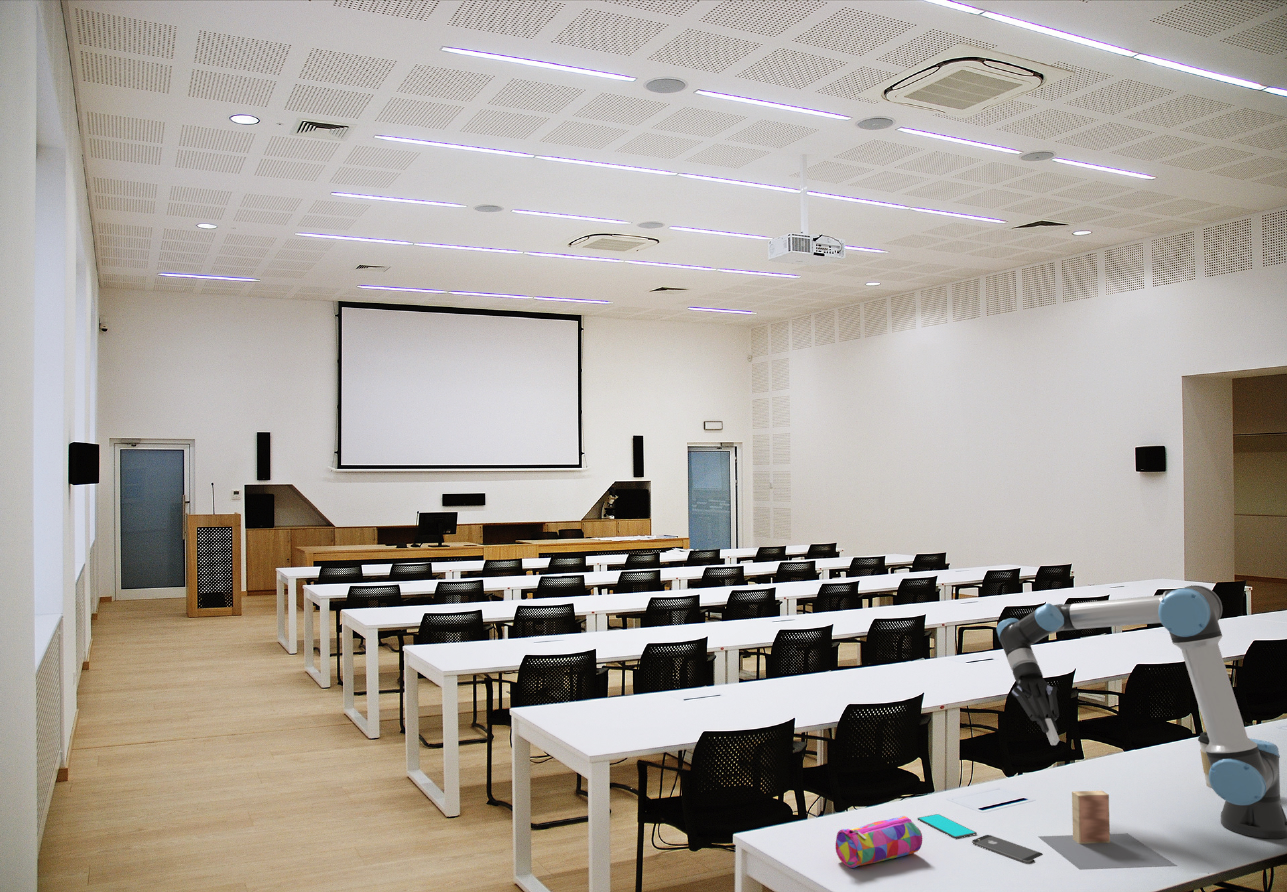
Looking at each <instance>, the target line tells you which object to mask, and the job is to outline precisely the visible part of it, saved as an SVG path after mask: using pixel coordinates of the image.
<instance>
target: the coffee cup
mask: <svg viewBox="0 0 1287 892" xmlns="http://www.w3.org/2000/svg"><path fill="white" fill-rule="evenodd" d="M1197 741H1198V743H1199V746H1200V751H1199V752H1200V756H1201V757H1200V758H1201V765H1202V770H1203V774H1204V779H1205V784H1206V786H1207V787H1208V788H1211V789H1212V787H1211V785H1210V782H1209V770H1210V768H1211V766H1210V763H1209V760H1208V756H1207V753H1206V747H1207V746H1208V744H1209V742H1210V741H1209V738H1208V734H1207V731H1202V732H1201V733H1200V735H1199V736H1198V738H1197Z"/></svg>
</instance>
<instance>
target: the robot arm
mask: <svg viewBox="0 0 1287 892" xmlns="http://www.w3.org/2000/svg"><path fill="white" fill-rule="evenodd" d="M1222 614H1223V605H1222V601H1221V599H1220V597H1219V596H1218V595H1217V594H1216V592H1214V591H1213V590H1212V589H1210V588H1208V587H1206V586H1203V585H1196V584H1195V585H1194V584H1193V585H1188V586H1184V587H1182V588H1178V589H1173V590H1165V591H1164V592H1163V594H1160V595H1159V594H1158V595H1149V596H1148V595H1147V596H1139V597H1129V598H1119V599H1118V598H1116V599H1108V600H1106V599H1105V600H1097V601H1089V602H1087V601H1086V602H1078V603H1071V604H1070V603H1069V604H1067V603H1066V604H1063V603H1059V604H1058V603H1057V604H1052V603H1049V602H1048V603H1044V605H1041V606H1039V607H1037V608H1036V609H1035V610H1034V611H1032V612H1031V613H1029V614H1027V615H1026V616H1024V617H1023V618H1022V619H1018V618H1015V617H1013V618H1012V617H1010V618H1006V619H1003V620H1002V621H1000V622H998V624H997V626H996V633H997V637H998V640H999V643H1000V644H1001V646H1002V649H1003V651H1004V654H1005V657H1006V659H1007V662H1008V664H1009V667H1010V669H1011V672H1012V675H1013V678H1014V680H1015V682H1016V686H1014V687H1013V689H1012V691H1011V695H1012V696H1013V697H1014V698H1015V699H1017V701H1018V703H1020V706H1021V707H1022V708H1023V711H1025V713H1026V714H1027V716H1028V717H1029V719H1030V721H1031V722H1036V724H1037V725H1039V726H1040V728H1041V731H1042V733H1045V734H1046V737H1047V738H1048V742H1049V743H1050V745H1051V746H1057V745H1058V743H1059V742H1060V738H1059V735H1058V733H1057V731H1058V730H1059V729H1058V726H1057V723H1056V721H1057V719H1058V718H1059V716H1060V710H1059V704H1058V697H1057V692H1058V687H1057V686H1055V685H1054V686H1050V685H1048V682H1047V681H1045V679H1044V676H1043V672H1042V670H1041V668H1040V665H1039V664H1038V660H1037V658H1036V656H1035V653H1034V651H1033V648H1032V645H1034V644H1036V643H1037V642H1039V641H1040V640H1043V638H1046V637H1047V636H1049V635H1052V634H1055V633H1059V632H1061V631H1073V630H1081V629H1083V630H1084V629H1096V628H1109V627H1110V628H1111V627H1120V626H1136V625H1137V626H1138V625H1148V624H1151V625H1152V624H1161V625H1162V626H1163V627H1164V629H1166V630H1167V631H1168V632H1169V635H1170V639H1171V643H1172V645H1174V646H1175V647H1178V648H1179V649H1180V650H1181V653H1182V656H1183V660H1184V662H1185V666H1186V670H1187V671H1188V672H1187V673H1188V676H1189V678H1190V683H1191V685H1192V686H1191V687H1192V688H1193V692H1194V695H1195V699H1196V701H1197V705H1198V708H1199V713H1200V714H1201V715H1200V716H1201V717H1202V721H1203V724H1204V727H1205V732H1207V734H1208V738H1209V741H1210V742H1209V744H1208V746H1207V747H1206V753H1207V756H1208V760H1209V763H1210V766H1211V768H1210V770H1209V782H1210V785H1211V787H1212V788H1211V789H1212V790H1213V791H1214V792H1215V794H1216V795H1217V796H1218V797H1220V798H1221V799H1223V800H1224V804H1223V808H1222V811H1221V813H1220V824H1221V826H1223V827H1224V828H1226V829H1228V830H1230V831H1232V832H1235V833H1238V834H1240V835H1243V836H1249V837H1254V838H1259V839H1271V840H1273V839H1275V840H1276V839H1284V838H1287V816H1286V814H1285V811H1284V809H1283V806H1282V804H1281V780H1280V779H1281V778H1280V777H1281V776H1280V758H1281V755H1280V753H1279V747H1278V746H1277V745H1276V744H1275V743H1274V742H1270V741H1267V740H1262V739H1255V738H1249V737H1248V734H1247V731H1246V728H1245V726H1244V721H1243V718H1242V715H1241V712H1240V709H1239V706H1238V703H1237V699H1236V697H1235V694H1234V690H1233V687H1232V684H1231V681H1230V677H1229V674H1228V672H1227V668H1226V667H1227V666H1226V665H1225V661H1224V658H1223V655H1222V651H1221V649H1220V646H1219V642H1220V641H1221V639H1222V637H1223V634H1222V630H1221V627H1220V625H1219V620H1220V619H1221V617H1222ZM1046 693H1047V695H1048V699H1047V697H1046V696H1047V695H1046ZM1048 700H1049V701H1048Z"/></svg>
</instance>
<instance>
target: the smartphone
mask: <svg viewBox="0 0 1287 892" xmlns="http://www.w3.org/2000/svg"><path fill="white" fill-rule="evenodd" d="M917 820H918V821H919V820H920V821H919V822H921V823H923V824H925V825H927V824H928V825H927V826H929V827H932V828H933V829H935V830H937V831H939V832H941V833H943V834H944V833H945V835H946V834H948V835H949V837H950V836H951V838H952V839H954V838H956V839H955V840H957V838H958V839H963V838H965V837H967V836H968V837H971V836H970V835H973V834H978V832H977V831H974V830H972V829H970V828H968V827H966V826H964V825H962V824H960V823H958V822H956V821H954V820H952V819H950V818H948V817H945V816H944V815H941V814H940V813H936V814H929V815H924V816H921V817H917ZM948 835H947V836H948ZM964 836H965V837H964ZM973 836H974V835H973ZM962 837H963V838H962Z"/></svg>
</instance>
